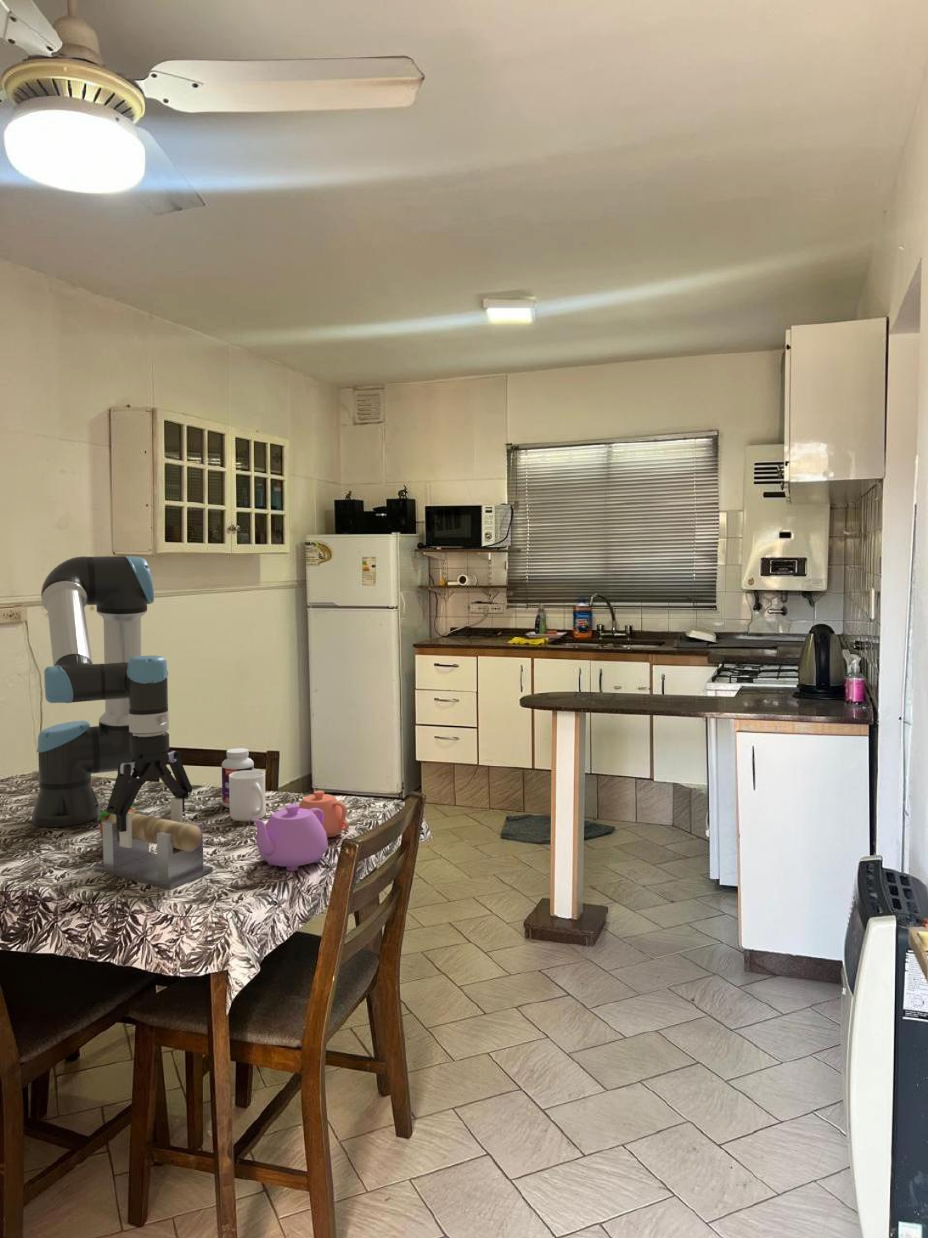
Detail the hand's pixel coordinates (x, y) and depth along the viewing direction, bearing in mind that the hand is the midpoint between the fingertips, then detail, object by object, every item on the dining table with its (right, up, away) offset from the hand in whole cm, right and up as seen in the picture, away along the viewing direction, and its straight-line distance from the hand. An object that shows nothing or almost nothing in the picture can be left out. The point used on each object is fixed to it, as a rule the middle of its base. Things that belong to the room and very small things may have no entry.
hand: (152, 837), depth 176 cm
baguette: (0, -1, -1) cm, 1 cm away
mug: (+11, -5, +37) cm, 39 cm away
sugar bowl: (+31, -6, +23) cm, 39 cm away
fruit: (-13, -6, +16) cm, 21 cm away
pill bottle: (+5, -4, +48) cm, 49 cm away
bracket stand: (0, -7, 0) cm, 7 cm away
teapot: (+27, -7, +5) cm, 28 cm away
